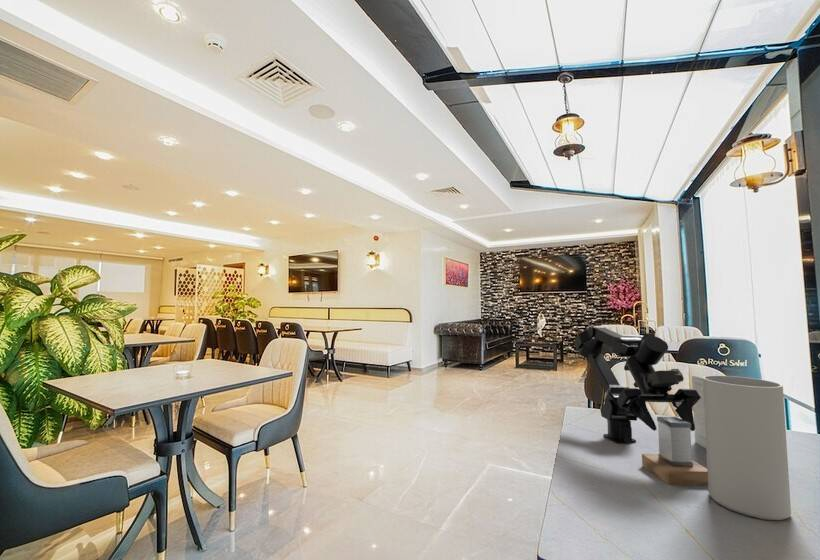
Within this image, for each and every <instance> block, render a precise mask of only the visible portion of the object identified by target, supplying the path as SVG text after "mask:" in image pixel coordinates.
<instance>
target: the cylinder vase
mask: <svg viewBox="0 0 820 560" xmlns="http://www.w3.org/2000/svg"><path fill="white" fill-rule="evenodd" d="M703 391H704V411H705V431H706V448H705V449H706V451H705V452H706V464H707V465H706V468H707V471H708V485H707V486H708V487H707V488H708V493H709V496H710V497H711V499H712V500H713V501H715V502H716V503H717V504H719V505H720V506H722V507H724V508H726V509H728V510H730V511H733V512H736V513H738V514H741V515H744V516H747V517H750V518H754V517H755V519H760V520H764V521H765V520H767V521H782V520H786V519H788V518H790V516H791V514H792V506H791V492H790V476H789V475H790V474H789V461H788V446H787V445H788V444H787V431H786V415H785V414H786V413H785V398H784V385H783V384H781V383H779V382H775V381H772V380H771V381H770V380H766V379H760V378H755V377H754V378H753V377H744V376H734V375H704V377H703Z"/></svg>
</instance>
